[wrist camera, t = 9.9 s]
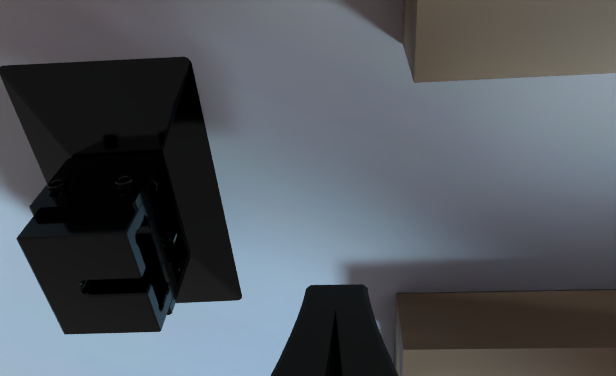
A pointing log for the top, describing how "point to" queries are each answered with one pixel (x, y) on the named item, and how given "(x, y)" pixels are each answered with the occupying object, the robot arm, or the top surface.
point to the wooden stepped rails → (507, 305)
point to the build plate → (121, 193)
